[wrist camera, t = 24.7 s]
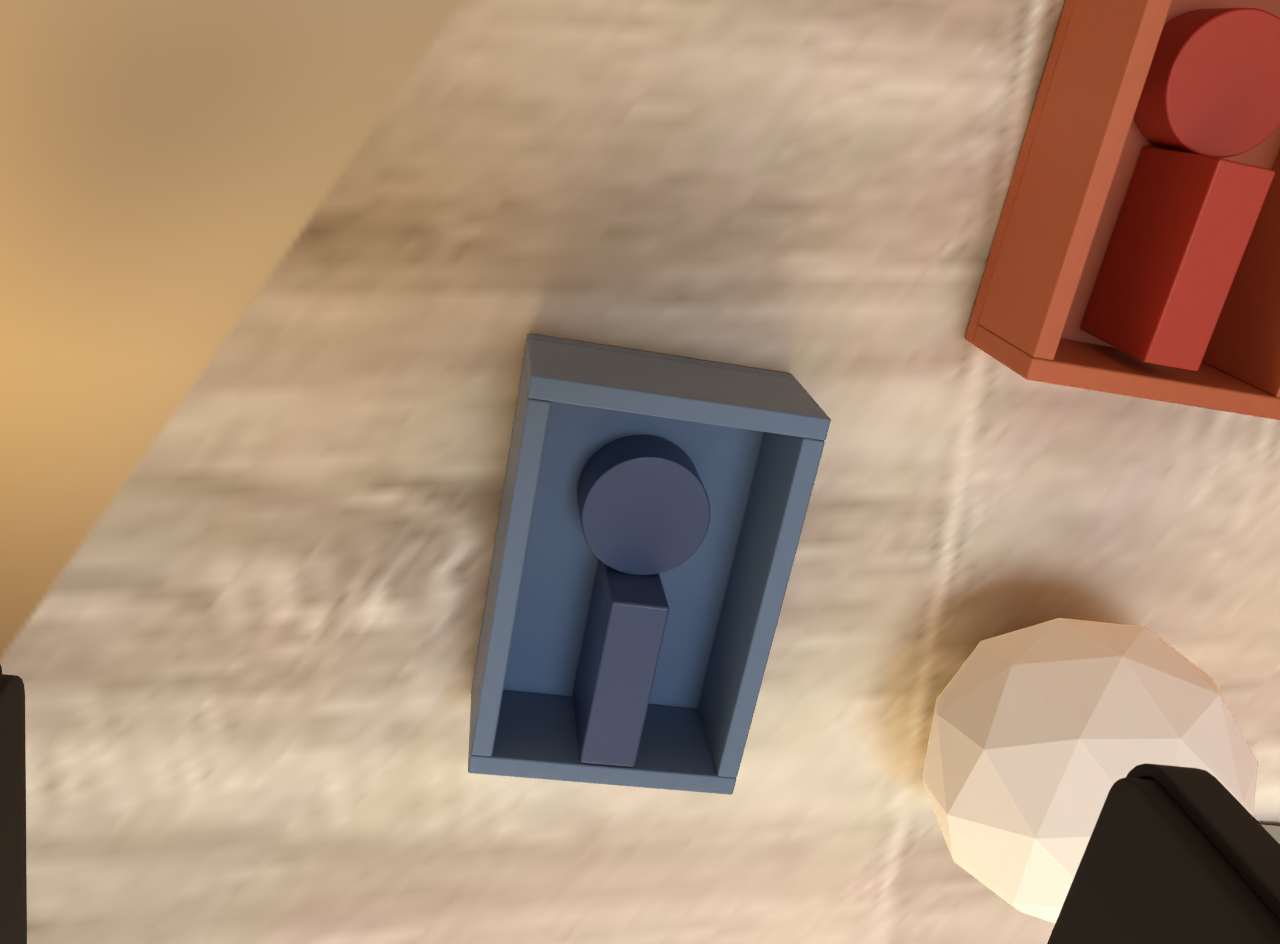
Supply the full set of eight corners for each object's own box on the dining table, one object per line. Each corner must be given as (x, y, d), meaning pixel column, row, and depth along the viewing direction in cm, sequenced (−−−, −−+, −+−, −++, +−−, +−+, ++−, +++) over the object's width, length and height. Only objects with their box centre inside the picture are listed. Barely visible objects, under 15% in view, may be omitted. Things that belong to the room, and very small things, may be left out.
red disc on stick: (1157, -5, 28) (1241, -10, 25) (1277, 25, 29) (1375, 24, 26) (1046, 322, 31) (1109, 356, 28) (1158, 343, 32) (1232, 378, 29)
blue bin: (527, 332, 30) (531, 375, 27) (792, 373, 32) (831, 419, 28) (471, 692, 34) (467, 773, 31) (708, 715, 36) (732, 795, 32)
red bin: (1095, -104, 28) (1188, -125, 24) (1355, -39, 29) (1482, -50, 26) (963, 339, 32) (1025, 380, 28) (1197, 377, 33) (1286, 421, 30)
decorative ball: (1136, 744, 41) (1206, 1060, 31) (877, 642, 41) (866, 929, 31) (1292, 582, 36) (1434, 901, 26) (996, 464, 36) (1028, 742, 26)
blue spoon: (588, 425, 31) (598, 471, 28) (711, 443, 32) (735, 489, 28) (540, 691, 34) (544, 760, 31) (653, 702, 35) (669, 771, 31)
